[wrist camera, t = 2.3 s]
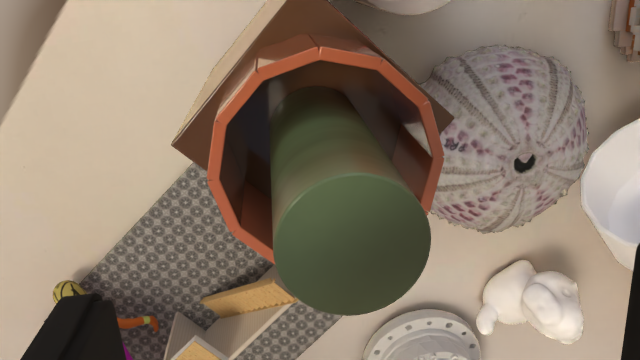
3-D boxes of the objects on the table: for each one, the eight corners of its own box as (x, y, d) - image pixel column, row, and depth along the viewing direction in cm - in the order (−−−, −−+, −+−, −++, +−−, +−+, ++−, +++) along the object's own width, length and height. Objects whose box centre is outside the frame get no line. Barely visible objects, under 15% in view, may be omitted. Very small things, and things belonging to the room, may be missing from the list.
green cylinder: (250, 137, 22) (239, 261, 12) (310, 66, 21) (347, 140, 12) (320, 191, 23) (358, 342, 13) (379, 125, 22) (464, 236, 13)
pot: (211, 70, 38) (147, 186, 17) (285, -23, 37) (313, -21, 16) (300, 141, 41) (338, 319, 20) (373, 56, 39) (501, 151, 18)
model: (175, 313, 44) (158, 379, 37) (266, 223, 42) (266, 274, 35) (206, 335, 45) (195, 403, 38) (296, 248, 43) (302, 302, 36)
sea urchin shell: (445, 244, 44) (482, 298, 37) (354, 109, 40) (375, 140, 32) (592, 150, 43) (661, 188, 35) (514, -1, 38) (574, 4, 31)
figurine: (564, 273, 47) (621, 330, 39) (491, 331, 48) (533, 397, 40) (527, 233, 45) (580, 284, 37) (453, 295, 46) (489, 356, 39)
